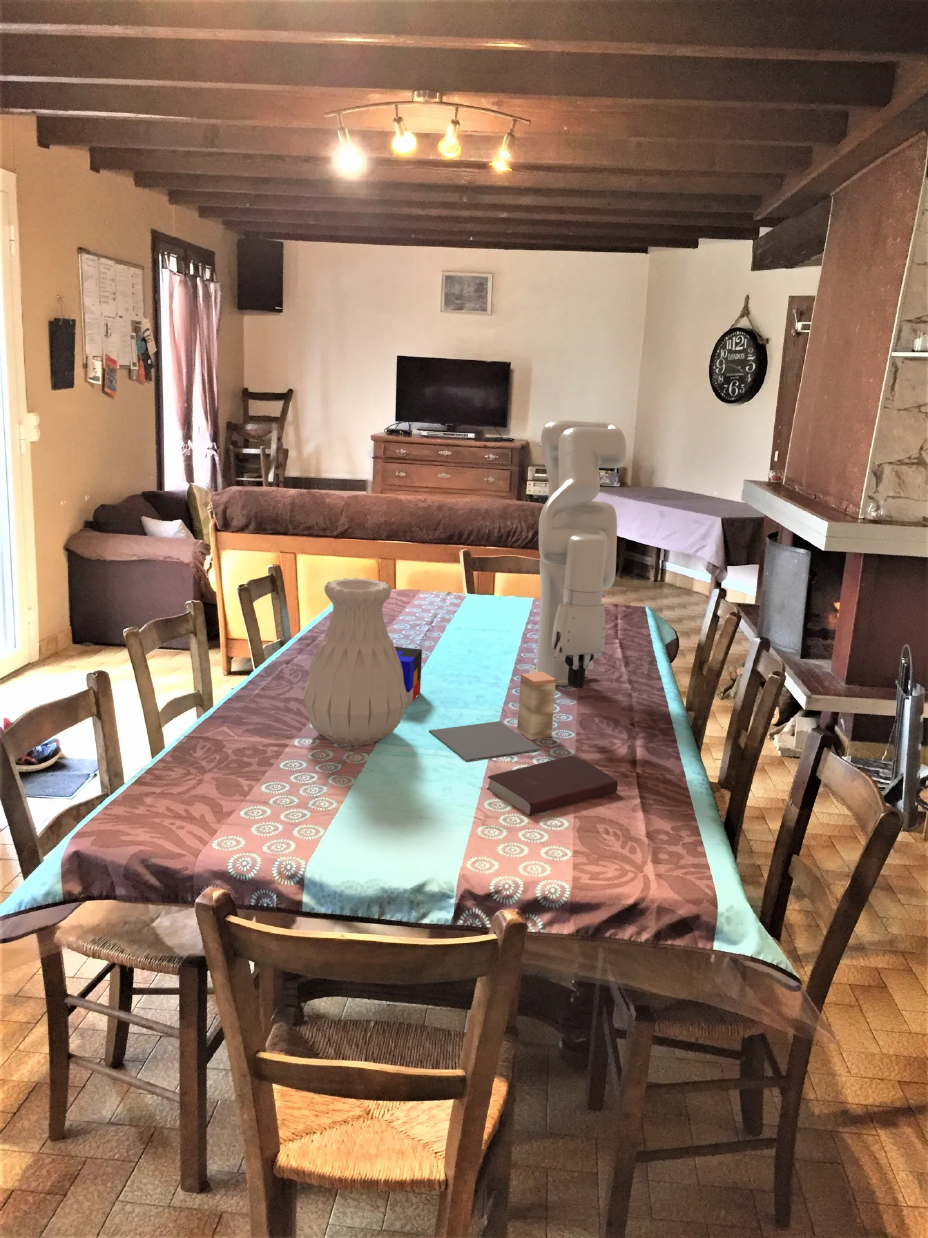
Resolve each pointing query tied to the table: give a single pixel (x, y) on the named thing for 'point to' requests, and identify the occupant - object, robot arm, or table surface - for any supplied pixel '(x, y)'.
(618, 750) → the table surface
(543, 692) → the tall block
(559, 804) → the book
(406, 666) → the puzzle toy
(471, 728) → the mat
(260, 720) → the table surface
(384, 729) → the vase
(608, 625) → the table surface
